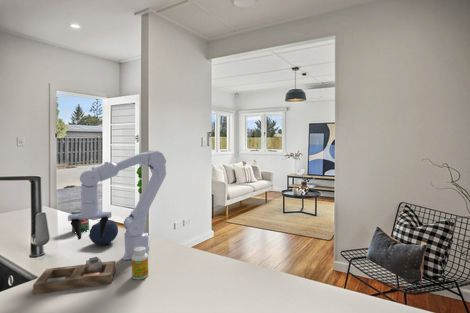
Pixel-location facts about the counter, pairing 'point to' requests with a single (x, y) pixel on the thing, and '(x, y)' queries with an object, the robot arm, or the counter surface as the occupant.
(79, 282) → the socket board
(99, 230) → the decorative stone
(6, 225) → the counter surface
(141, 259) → the supplement bottle
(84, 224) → the canned tomato
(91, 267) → the plug
